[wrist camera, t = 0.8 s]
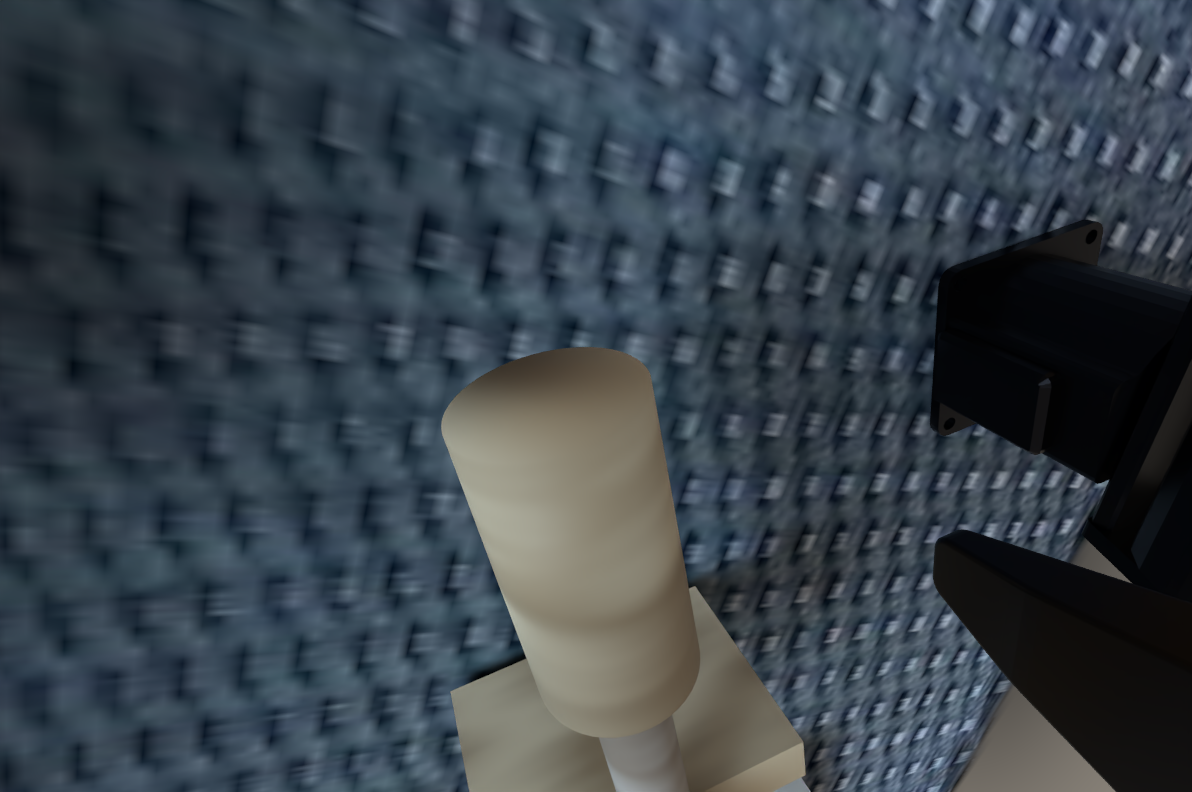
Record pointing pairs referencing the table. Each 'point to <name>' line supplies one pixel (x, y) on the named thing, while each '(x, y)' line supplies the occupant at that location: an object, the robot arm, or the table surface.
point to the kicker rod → (598, 598)
